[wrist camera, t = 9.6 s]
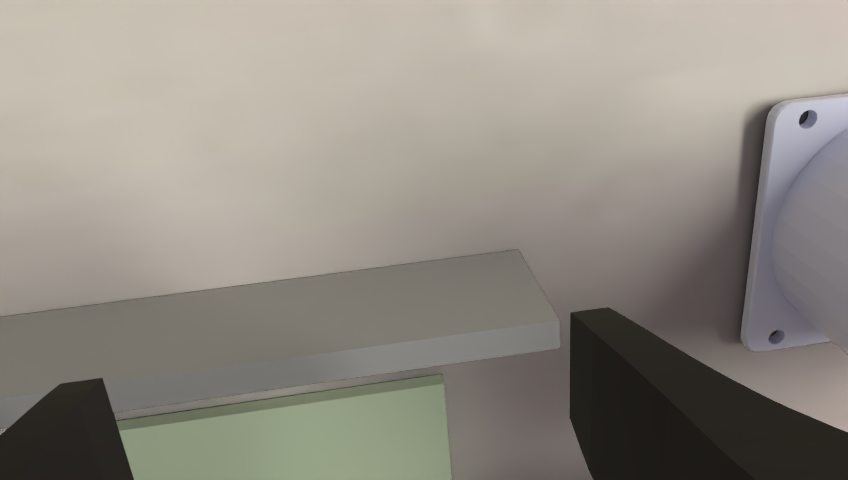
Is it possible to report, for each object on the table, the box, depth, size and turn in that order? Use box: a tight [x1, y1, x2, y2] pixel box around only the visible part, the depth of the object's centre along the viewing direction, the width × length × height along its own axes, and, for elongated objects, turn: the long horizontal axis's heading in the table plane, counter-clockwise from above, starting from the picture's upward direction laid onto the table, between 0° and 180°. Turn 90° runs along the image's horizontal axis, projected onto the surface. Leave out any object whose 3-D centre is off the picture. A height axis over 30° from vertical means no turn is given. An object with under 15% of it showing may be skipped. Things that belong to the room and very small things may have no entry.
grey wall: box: [0, 250, 560, 429], centre depth 19 cm, size 16×1×4 cm, turn 94°
